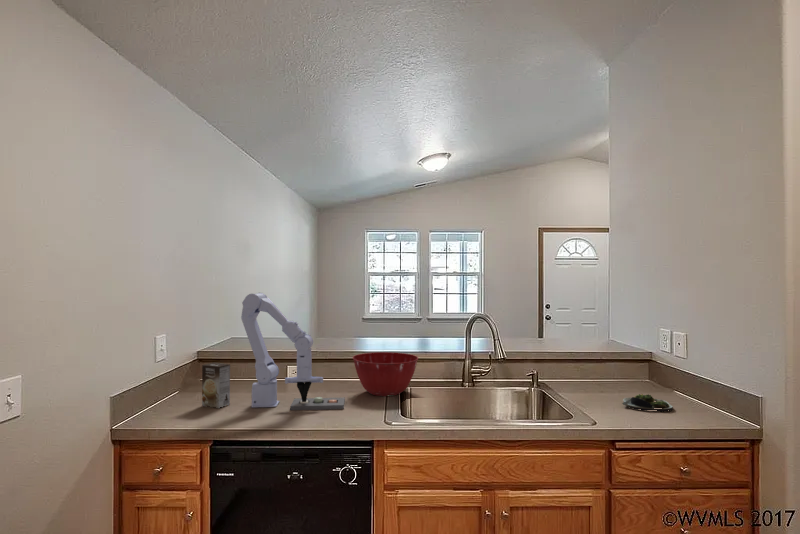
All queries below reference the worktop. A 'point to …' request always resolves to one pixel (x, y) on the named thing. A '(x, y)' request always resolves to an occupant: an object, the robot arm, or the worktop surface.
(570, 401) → the worktop surface
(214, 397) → the coffee box
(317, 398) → the sage button
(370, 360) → the mixing bowl
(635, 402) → the salad plate
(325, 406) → the button panel
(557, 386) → the worktop surface
